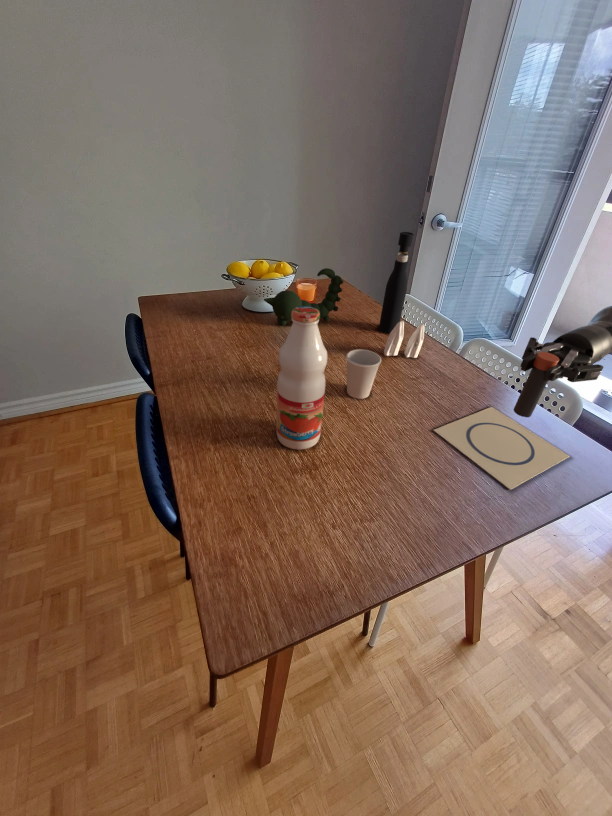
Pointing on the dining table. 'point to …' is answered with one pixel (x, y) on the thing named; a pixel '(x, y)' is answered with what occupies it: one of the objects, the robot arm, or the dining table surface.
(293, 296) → the toy figurine
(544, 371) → the marker
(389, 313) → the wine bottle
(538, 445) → the paper
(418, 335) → the shaker set
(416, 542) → the dining table surface
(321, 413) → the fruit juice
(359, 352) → the dixie cup
